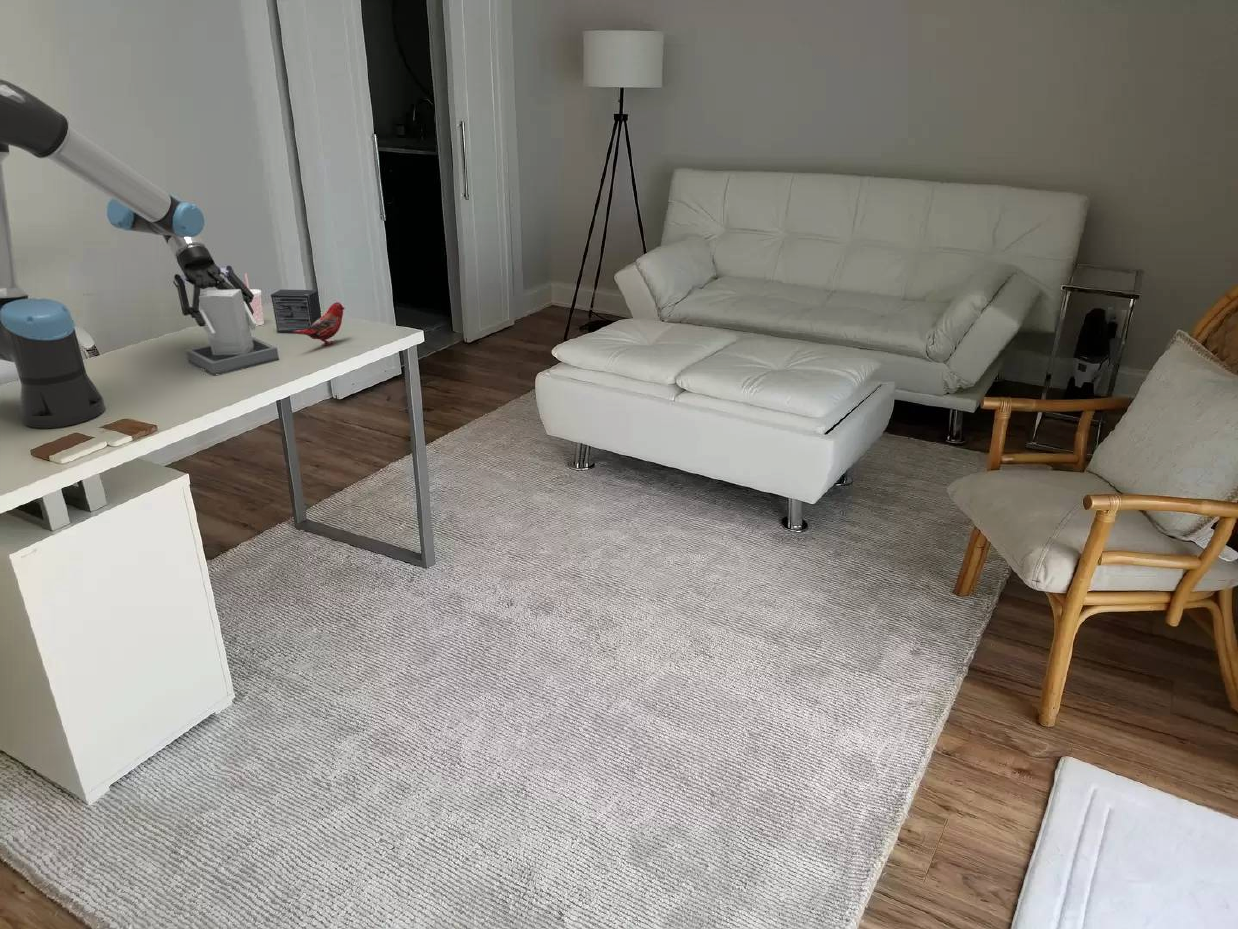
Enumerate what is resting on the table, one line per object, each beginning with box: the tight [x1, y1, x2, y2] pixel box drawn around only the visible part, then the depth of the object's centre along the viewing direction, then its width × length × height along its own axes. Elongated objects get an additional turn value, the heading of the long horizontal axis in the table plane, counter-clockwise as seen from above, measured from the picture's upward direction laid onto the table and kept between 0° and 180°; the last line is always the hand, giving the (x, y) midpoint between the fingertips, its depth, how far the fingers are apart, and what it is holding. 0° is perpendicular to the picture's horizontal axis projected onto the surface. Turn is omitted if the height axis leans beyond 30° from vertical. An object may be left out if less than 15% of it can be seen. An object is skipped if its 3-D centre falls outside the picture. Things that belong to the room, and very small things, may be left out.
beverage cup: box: [244, 272, 265, 327], centre depth 242 cm, size 6×6×14 cm
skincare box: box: [199, 289, 254, 355], centre depth 213 cm, size 8×6×15 cm
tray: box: [186, 336, 280, 376], centre depth 217 cm, size 16×14×3 cm
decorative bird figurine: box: [291, 301, 345, 347], centre depth 225 cm, size 3×18×10 cm, turn 149°
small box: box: [270, 289, 322, 334], centre depth 238 cm, size 11×6×10 cm, turn 84°
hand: (233, 331), depth 212 cm, fingers closed on skincare box, 9 cm apart
